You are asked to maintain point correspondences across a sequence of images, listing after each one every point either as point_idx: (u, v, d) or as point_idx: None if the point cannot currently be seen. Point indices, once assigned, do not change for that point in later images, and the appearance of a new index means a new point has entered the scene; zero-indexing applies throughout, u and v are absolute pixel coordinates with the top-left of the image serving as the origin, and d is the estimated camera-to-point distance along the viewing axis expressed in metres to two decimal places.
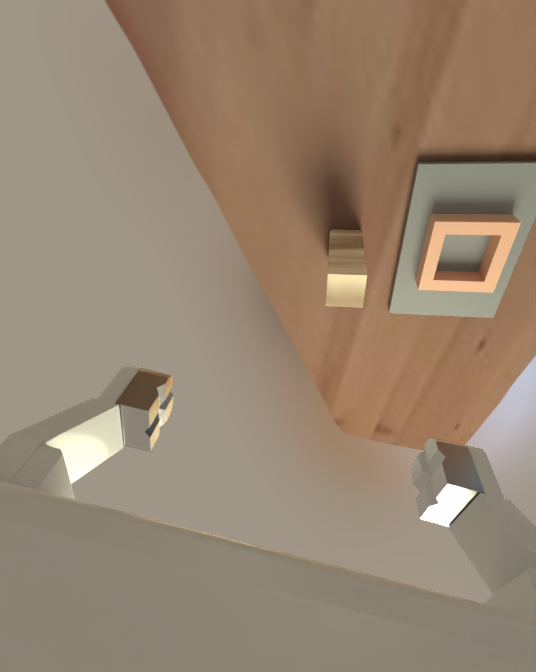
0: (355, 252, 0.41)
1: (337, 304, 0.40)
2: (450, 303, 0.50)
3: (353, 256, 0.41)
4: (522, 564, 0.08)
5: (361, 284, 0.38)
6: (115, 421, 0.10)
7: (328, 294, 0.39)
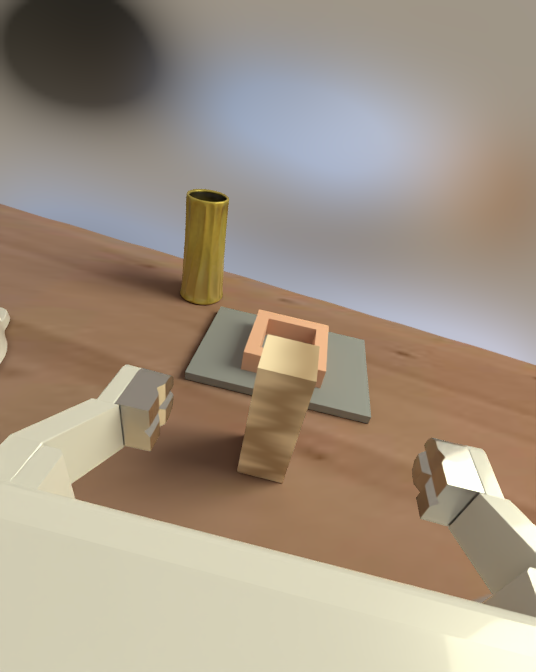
0: None
1: (313, 368, 0.25)
2: (349, 364, 0.44)
3: None
4: (522, 564, 0.08)
5: (280, 340, 0.27)
6: (115, 421, 0.10)
7: (294, 374, 0.24)
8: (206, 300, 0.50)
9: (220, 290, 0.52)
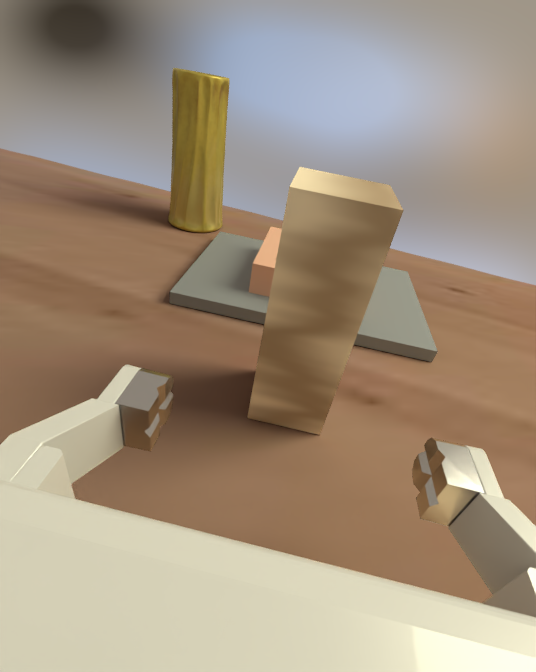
0: None
1: (390, 199, 0.13)
2: (394, 294, 0.32)
3: None
4: (523, 564, 0.08)
5: (323, 173, 0.15)
6: (115, 421, 0.10)
7: (359, 199, 0.13)
8: (201, 226, 0.39)
9: (219, 216, 0.41)
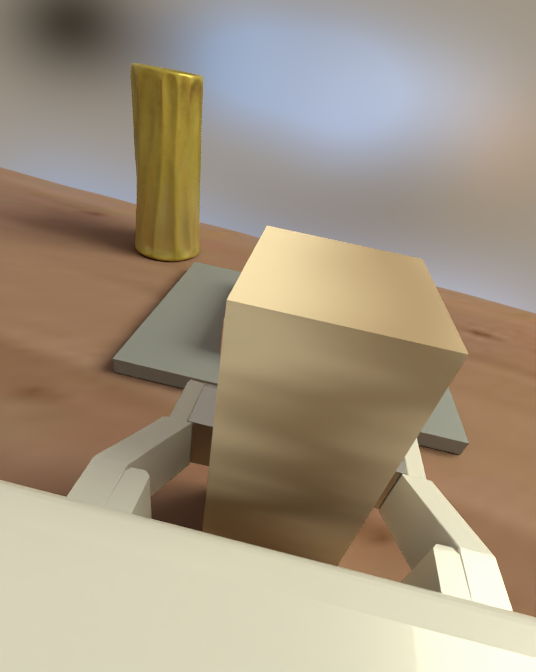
0: None
1: (433, 310, 0.07)
2: None
3: None
4: (436, 542, 0.08)
5: (306, 240, 0.09)
6: (186, 439, 0.10)
7: (374, 326, 0.06)
8: (173, 254, 0.33)
9: (196, 241, 0.34)
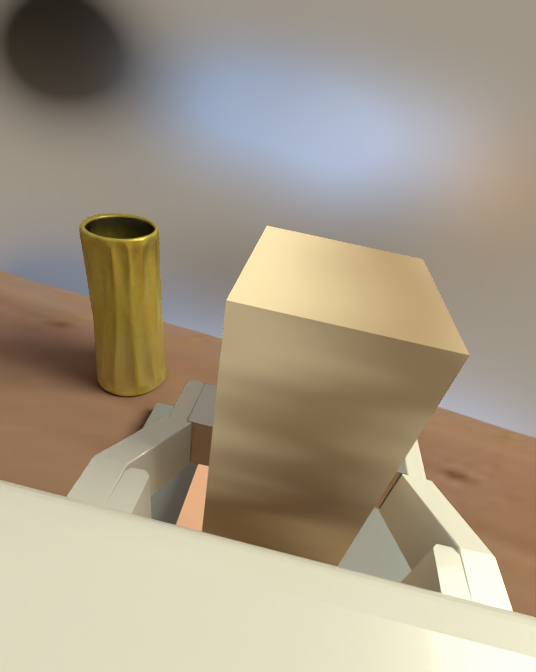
0: None
1: (434, 311, 0.07)
2: (373, 524, 0.25)
3: None
4: (436, 542, 0.08)
5: (307, 240, 0.09)
6: (186, 439, 0.10)
7: (375, 327, 0.06)
8: (135, 390, 0.31)
9: (161, 369, 0.33)
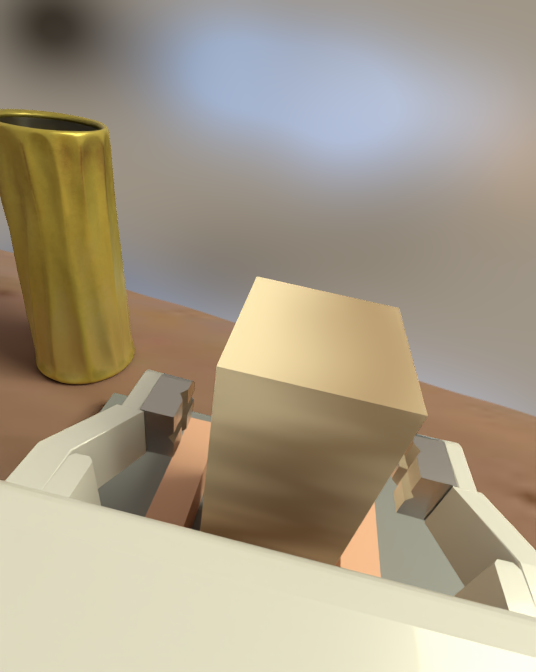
0: None
1: (402, 368, 0.08)
2: (434, 583, 0.16)
3: None
4: (492, 556, 0.08)
5: (292, 292, 0.10)
6: (139, 427, 0.10)
7: (346, 389, 0.07)
8: (86, 375, 0.22)
9: (124, 348, 0.24)
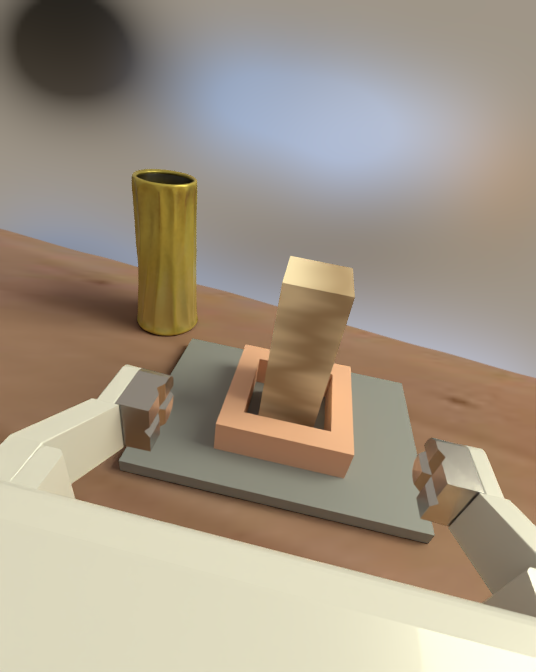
0: None
1: (349, 286, 0.21)
2: (385, 428, 0.28)
3: None
4: (523, 564, 0.08)
5: (306, 262, 0.23)
6: (115, 421, 0.10)
7: (327, 290, 0.20)
8: (172, 329, 0.35)
9: (193, 314, 0.37)
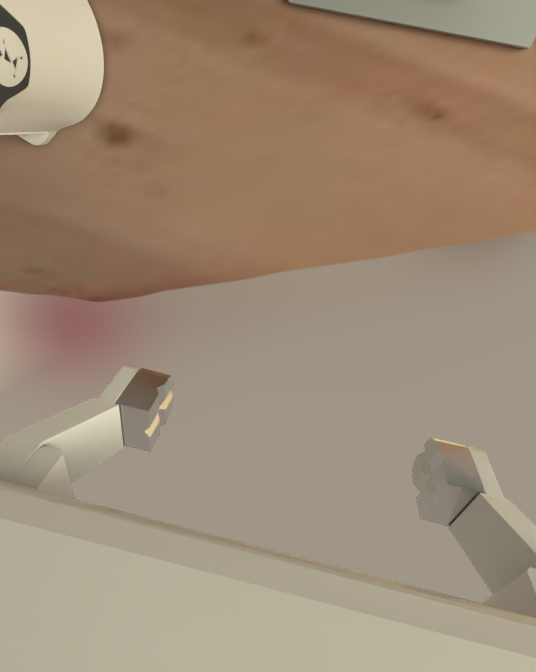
0: None
1: None
2: None
3: None
4: (523, 564, 0.08)
5: None
6: (115, 421, 0.10)
7: None
8: None
9: None
